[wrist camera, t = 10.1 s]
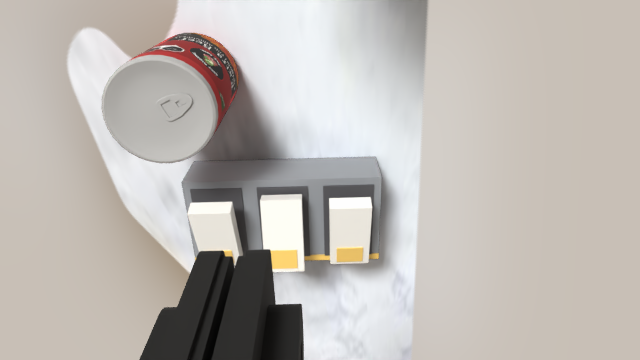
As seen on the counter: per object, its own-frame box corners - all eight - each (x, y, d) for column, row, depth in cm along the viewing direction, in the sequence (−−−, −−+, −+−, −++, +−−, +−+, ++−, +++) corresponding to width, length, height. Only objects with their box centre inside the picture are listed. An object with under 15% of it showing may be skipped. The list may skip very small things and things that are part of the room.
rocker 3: (329, 198, 39) (329, 210, 38) (370, 197, 39) (372, 208, 38) (329, 252, 43) (330, 264, 42) (366, 251, 43) (368, 264, 42)
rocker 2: (261, 195, 40) (259, 201, 39) (302, 194, 40) (301, 200, 39) (266, 264, 42) (264, 273, 41) (304, 263, 42) (304, 271, 41)
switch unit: (193, 161, 44) (180, 183, 40) (375, 156, 44) (382, 178, 40) (206, 239, 49) (196, 267, 44) (372, 235, 49) (378, 262, 44)
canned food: (257, 76, 41) (239, 115, 31) (199, 132, 43) (165, 185, 33) (192, 10, 38) (150, 29, 28) (134, 73, 40) (77, 111, 31)
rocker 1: (190, 202, 39) (186, 215, 38) (232, 201, 39) (229, 214, 38) (205, 254, 43) (203, 267, 42) (243, 253, 43) (241, 266, 42)
